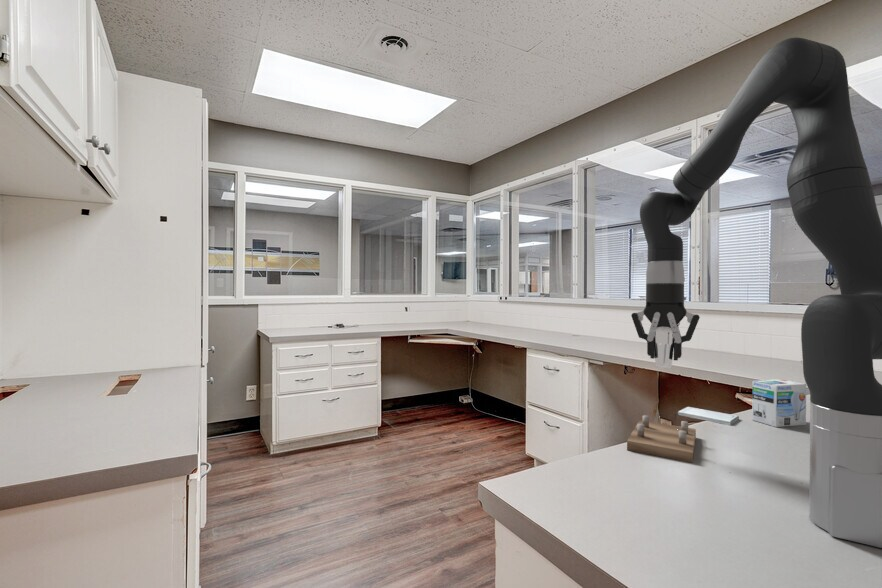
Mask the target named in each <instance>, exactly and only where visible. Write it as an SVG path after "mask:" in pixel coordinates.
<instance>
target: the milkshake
mask: <svg viewBox="0 0 882 588" xmlns="http://www.w3.org/2000/svg"><path fill="white" fill-rule="evenodd" d="M680 324H681V322H679V324H678V326H677V327H679V326H680ZM674 343H675V339H674V333H673V332H672V330H671V328H669V327H663V326H662V327H657V328H656V331H655V332H654V346H655V358H654V361H655V367H658V368H664V369H672V366H673V359H674Z"/></svg>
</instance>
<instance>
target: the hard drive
mask: <svg viewBox="0 0 882 588" xmlns="http://www.w3.org/2000/svg"><path fill="white" fill-rule="evenodd" d="M677 415H678V416H682V417H686V418H691V419H695V420H701V421H705V422H706V421H707V422H712V423H716V424H721V425H726V426H731V425H733V424H734V423H736V422H738V421H739V420H740V417H739V415H735V414H731V413H725V412H719V411H714V410H708V409H702V408H697V407H692V406H686V407H684V408H682V409H681V410H678V411H677Z"/></svg>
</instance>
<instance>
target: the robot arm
mask: <svg viewBox="0 0 882 588" xmlns="http://www.w3.org/2000/svg"><path fill="white" fill-rule="evenodd" d="M847 70H848V69H847V64H846V61H845V58H844V56H843V55H842V52H840V51H839V50H838V49H837V48H835V47H833V46H831V45H828V44H825V43H821V42H818V41H815V40H811V39H807V38H803V37H797V36H795V37H789V38H786V39H783V40H782V41H780V42H778V43H776V44H775V45H774V46H772V47H771V48H769V50H768V51H767V52H765V54H764V55H763V56H762V57H761V58H760V60H759V61H758V62H757V63H756V65H755V66H754V67H753V69H752V70H751V72H750V73H749V74H748V76H747V77H746V79H745V81H744V82H743V83H742V84H741V86H740V88H739V89H738V91H737V93H736V94H735V95H734V97H733V98H732V100H731V101H730V103H729V104H728V106H727V108H726V109H725V111H724V112H723V114H722V115H721V116H720V118H719V119H718V121H717V123H716V124H715V125H714V127H713V129H712V130H711V131H710V133H709V134H708V136H707V137H706V138H705V139H704V141H703V142H702V143H701V144H700V145H699V146H698V148H697V149H696V150H695V151H694V152H693V153H692V154H691V156H689V158H688V159H687V160H686V161H685V162H684V164H682V166H680V168H679V169H678V170H677V171H676V173H675V174H674V175H673V178H672V183H673V186H674V187H675V189H676V191H675V192H674V193H673V192H662V191H653V192H650V193H648V194H646V196H645V197H644V198H643V200H642V201H641V203H640V206H639V207H640V208H639V218H640V223H641V227H642V230H643V233H644V237H645V240H646V244H647V266H646V273H645V277H646V278H645V307H644V309H643V310H642V311H639V312H633V313H631V315H630V316H631V318H632V322H633V324H634V328H635V330H636V332H637V336H638V338H640V339H642V340H645V341H646V343H647V345H646V347H647V349H646V350H647V351H646V352H647V353H646V354H647V356H650V357H649V358H650V359H654V360H655V346H654V332H655V331H656V328H657V327H662V326H663V327H669V328H671V330H672V332H673V333H674V339H675V343H674V349H673V361H678V360H679V359H680V358H681V357H682V351H683V349H682V348H683V347H682V344H683V343H685V342H690V341H691V339H692V337H693V335H694V332H695V330H696V327H697V325H698V323H699V321H700V315H699V314H695V313H691V312H688V311H687V309H686V307H685V280H686V278H685V269H684V268H685V267H684V241H683V238H682V237H681V236H679V235H677V234H674V233H673V232H671V230H670V226H677V225H681V224H683V223H684V222H686V221H687V220H688V219H689V218H690V217H691V216H692V215H693V214H694V213H695V210H696V209H697V206H699V204H700V202H701V200H702V199H703V196H704V195H705V193H706V192H707V191H708V190H709V189H710V188H712V186H713V185H715V183H717V181H718V180H719V179H720V178H721V177H722V176H724V174H725V173H726V172H727V171H728V170H729V169H730V168H731V166H732V165H733V163H734V161H735V160H736V158H737V155H738V153H739V151H740V147H741V144H742V142H743V140H744V138H745V135H746V133H747V131H748V130H749V128H750V126H751V125H752V124H753V122H755V120H756V119H757V118H758V117H759V116H760V115H761V114H762V113H763V112H764V111H765V110H767V109H768V108H769V107H770V106H771V105H772V104H773V103H777V104H781V105H786V106H787V107H788V108H789V110H790V112H791V114H792V116H793V120H794V124H795V127H796V131H797V146H796V148H795V152H794V154H793V156H792V159H791V161H790V165H789V167H788V171H787V174H786V175H787V176H786V186H787V187H786V188H787V193H788V197H789V200H790V206H791V211H792V214H793V217H794V220H795V222H796V224H797V225H798V227H799V228H800V230H801V231H802V232H803V233H804V235H805V236H806V237H807V239H808V240H810V242H811V243H812V244H813V245H814V246H815V247H816V248H817V250H818V251H819V252H820V253H821V254H822V255H823V256H824V257H825V259H826V260H827V262H828V264H830V267H832V270H833V272H834V273H835V277H836V280H837V282H838V283H837V284H838V287H839V291H840V293H839V294H827V295H823V296H820V297H818V298H816V299H814V300H813V301H811V303H809V305H808V306H807V308H806V309H805V311H804V313H803V316H802V320H801V327H800V331H801V332H800V333H801V334H800V335H801V337H800V338H801V339H800V341H801V351H802V352H801V353H802V354H801V356H802V372H803V377H804V381H805V384H806V387H807V388H808V391H809V395H810V397H809V401H810V403H809V405H810V406H809V409H810V410H809V415H810V416H809V481H808V482H809V483H808V484H809V485H808V486H809V489H808V490H809V499H808V500H809V503H808V504H809V506H808V507H809V511H808V513H809V515H808V518H809V519H810V521H811V522H812V523H814V524H815V525H816V526H817V527H820V529H823V530H824V531H826V532H828V534H829V535H830V536H832V537H833V538H834V537H835V538H837V539H842V540H846V541H847V540H848V541H851V542H855V543H859V544H863V545H868V546H872V547H876V548H880V549H882V384H881V383H880V382H879V381H878V380H877V378H876V376H875V370H874V361H873V360H882V222H881V221H882V220H881V218H880V215H879V211H878V208H877V203H876V199H875V198H876V197H875V193H874V189H873V186H872V182H871V178H870V174H869V170H868V167H867V164H866V162H865V159H864V155H863V151H862V148H861V144H860V139H859V136H858V132H857V130H856V126H855V123H854V119H853V115H852V109H851V108H852V107H851V101H850V90H849V79H848V78H849V77H848V73H847V72H848V71H847ZM644 316H645V318H647V320H648V321H649V322H650V327H649V330H648V333H646V332H645V329H644V326H643V324H642V321H643V320H644ZM685 317H686V319H687V320H686V321H687V323H689V326H688V328H687V331H686V332H685V335H681V331H680V328H679V326H678V324H679V323H681V321H682V320H683V319H684V318H685ZM679 325H680V324H679ZM677 326H678V327H677Z"/></svg>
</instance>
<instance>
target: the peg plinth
mask: <svg viewBox="0 0 882 588" xmlns="http://www.w3.org/2000/svg"><path fill="white" fill-rule="evenodd" d="M641 416H642V417H641V418H642V420H638V422H637V424H636V425H635V427H634V428H633V430H632V431H631V433H630V435H629V437H628V438H627V440H626V451H630V452H636V453H640V454H647V455H652V456H656V457H661V458H662V457H663V458H666V459H673V460H677V461H682V462H687V463H692V464H693V463H694V462H693V461H694V454H695V453H694V452H695V448H696V447H695V445H696V438H697V437H696V436H697V434H696V432H697V428H692V427H689V422H688V421H687V420H681V421H680V425H678V426H677V425H673V424H672V425H671V424H666V423H659V422H653V421H650V416H649V415H647V414H644V415H641ZM677 429H678V430H677Z"/></svg>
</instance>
